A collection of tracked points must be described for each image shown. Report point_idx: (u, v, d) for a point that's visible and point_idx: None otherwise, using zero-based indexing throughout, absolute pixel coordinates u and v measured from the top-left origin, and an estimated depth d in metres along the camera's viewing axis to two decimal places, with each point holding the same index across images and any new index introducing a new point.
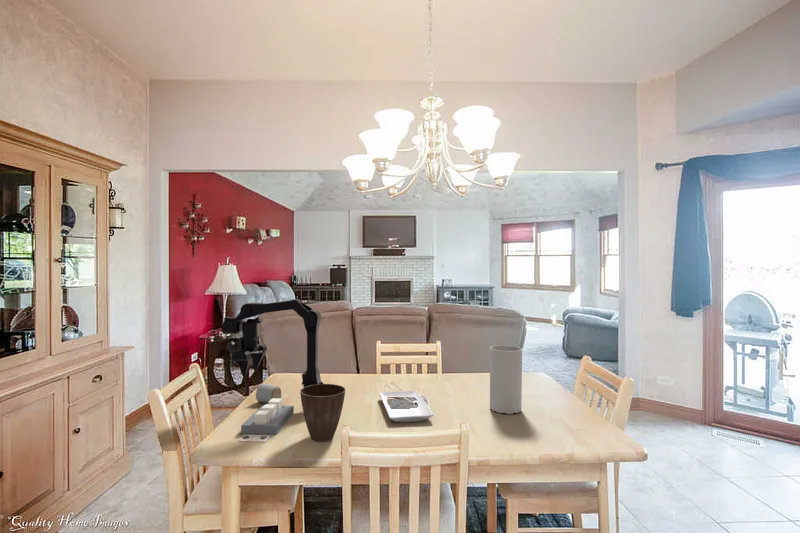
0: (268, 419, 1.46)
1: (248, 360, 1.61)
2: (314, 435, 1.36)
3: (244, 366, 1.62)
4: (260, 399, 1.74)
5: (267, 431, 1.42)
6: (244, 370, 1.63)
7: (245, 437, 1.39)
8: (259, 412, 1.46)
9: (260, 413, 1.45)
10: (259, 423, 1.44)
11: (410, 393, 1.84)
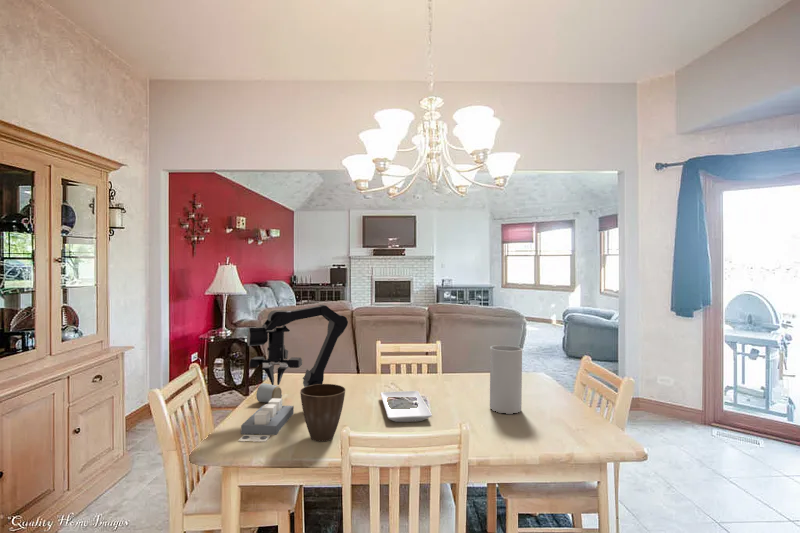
0: (268, 419, 1.46)
1: (264, 368, 1.57)
2: (314, 435, 1.36)
3: None
4: (260, 399, 1.74)
5: (267, 431, 1.42)
6: None
7: (245, 437, 1.39)
8: (259, 412, 1.46)
9: (260, 413, 1.45)
10: (259, 423, 1.44)
11: (411, 393, 1.84)
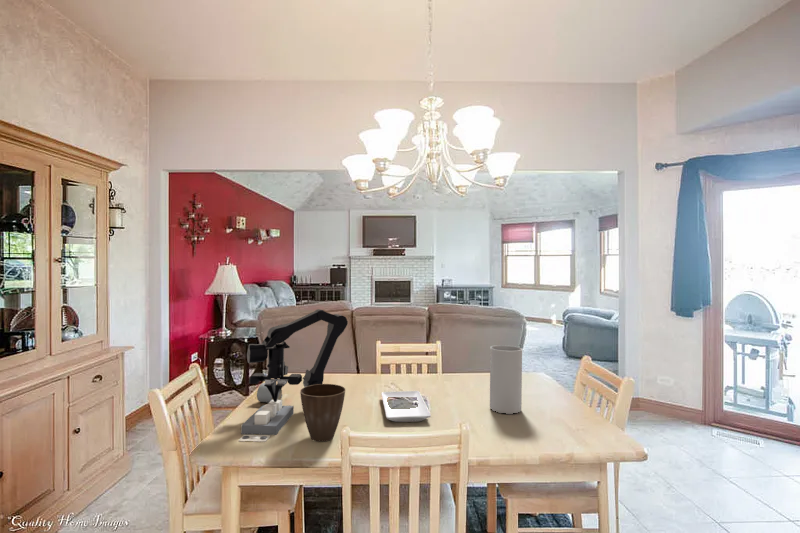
0: (268, 419, 1.46)
1: (266, 385, 1.57)
2: (314, 435, 1.36)
3: None
4: (261, 399, 1.74)
5: (267, 431, 1.42)
6: None
7: (245, 437, 1.39)
8: (259, 412, 1.46)
9: (260, 413, 1.45)
10: (259, 423, 1.44)
11: (412, 393, 1.84)
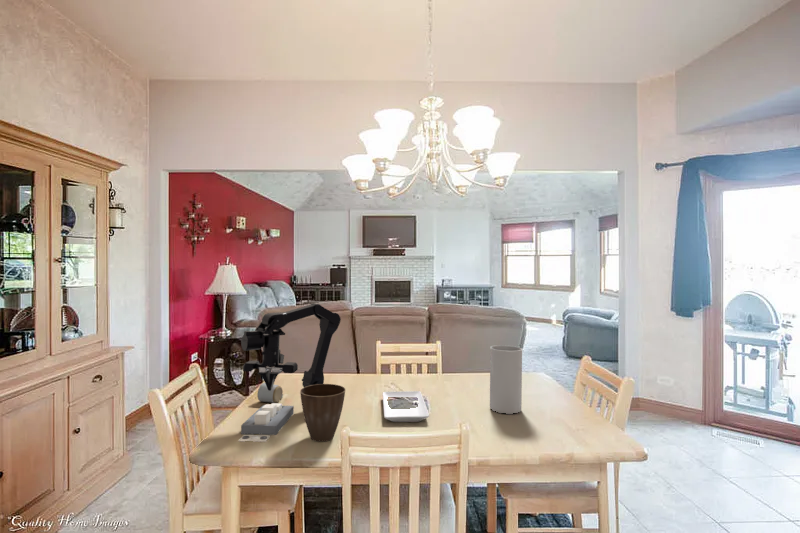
0: (268, 419, 1.46)
1: (260, 373, 1.52)
2: (314, 435, 1.36)
3: None
4: (262, 398, 1.75)
5: (267, 431, 1.42)
6: None
7: (245, 437, 1.39)
8: (259, 412, 1.46)
9: (260, 413, 1.45)
10: (259, 423, 1.44)
11: (413, 393, 1.83)
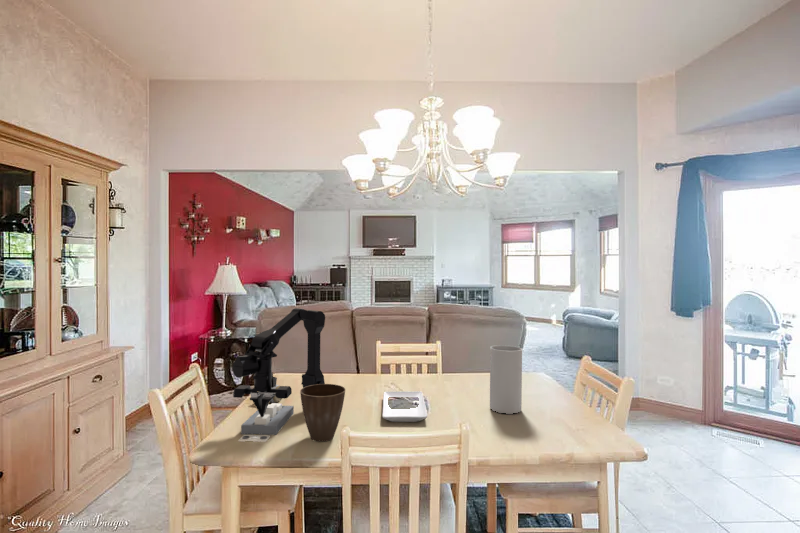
0: None
1: (252, 399, 1.43)
2: (314, 435, 1.36)
3: None
4: None
5: (267, 431, 1.42)
6: None
7: (245, 437, 1.39)
8: (259, 416, 1.46)
9: (260, 417, 1.45)
10: None
11: (415, 394, 1.83)
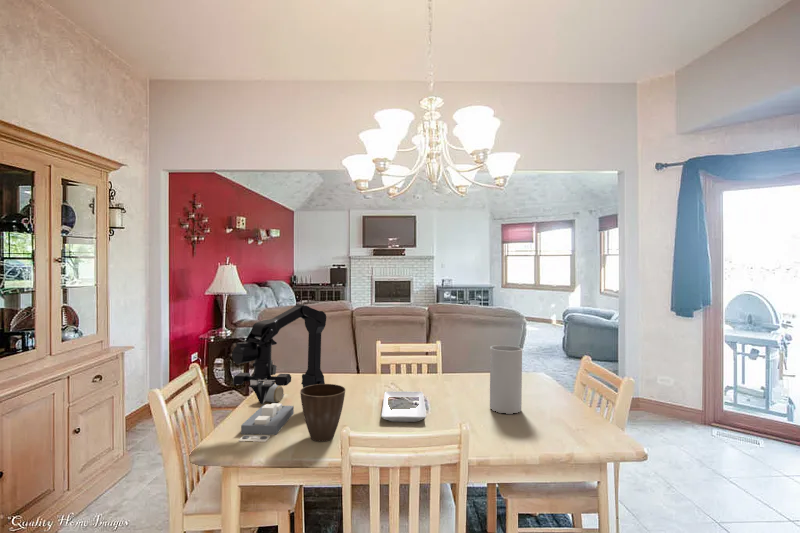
0: None
1: (252, 386, 1.43)
2: (314, 435, 1.36)
3: None
4: None
5: (267, 431, 1.42)
6: None
7: (245, 437, 1.39)
8: (259, 417, 1.46)
9: (260, 418, 1.45)
10: None
11: (415, 394, 1.83)
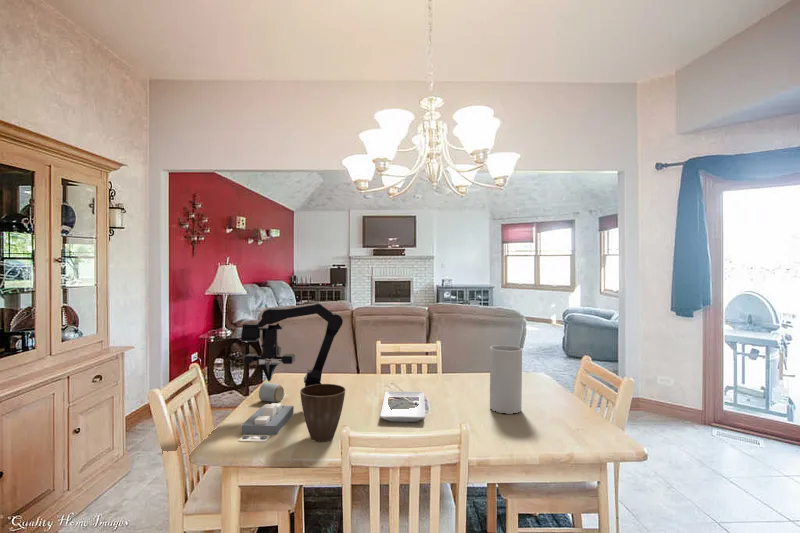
0: None
1: (260, 365, 1.61)
2: (314, 435, 1.36)
3: None
4: (263, 398, 1.75)
5: (267, 431, 1.42)
6: None
7: (245, 437, 1.39)
8: (259, 417, 1.46)
9: (260, 418, 1.45)
10: None
11: (416, 394, 1.83)
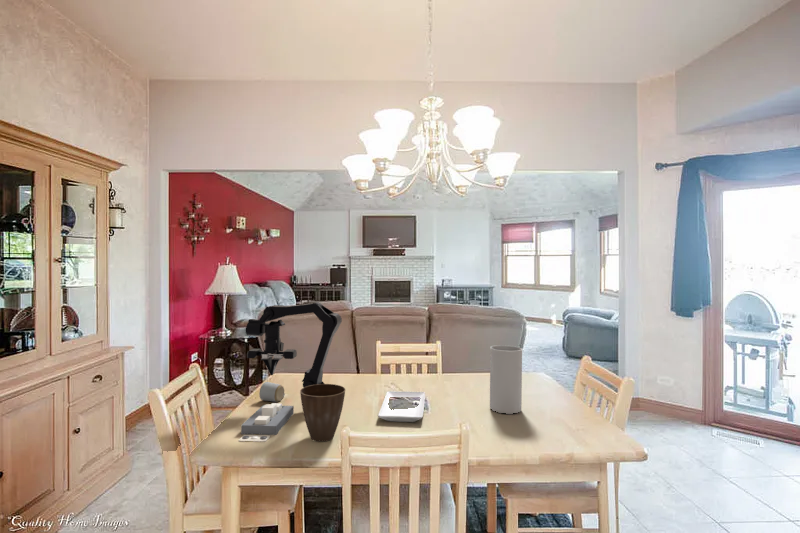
0: None
1: (263, 359, 1.68)
2: (314, 435, 1.36)
3: None
4: (263, 397, 1.76)
5: (267, 431, 1.42)
6: None
7: (245, 437, 1.39)
8: (259, 417, 1.46)
9: (260, 418, 1.45)
10: None
11: (418, 394, 1.83)
